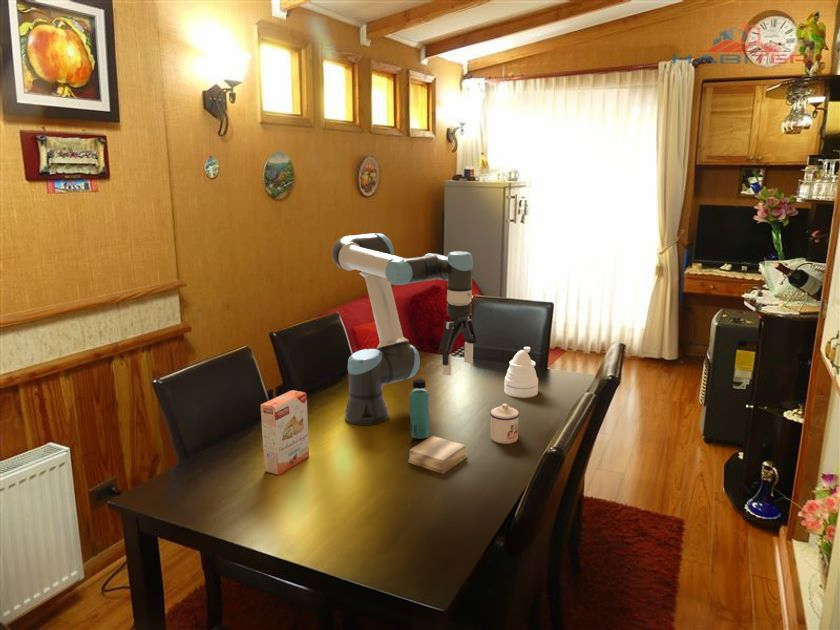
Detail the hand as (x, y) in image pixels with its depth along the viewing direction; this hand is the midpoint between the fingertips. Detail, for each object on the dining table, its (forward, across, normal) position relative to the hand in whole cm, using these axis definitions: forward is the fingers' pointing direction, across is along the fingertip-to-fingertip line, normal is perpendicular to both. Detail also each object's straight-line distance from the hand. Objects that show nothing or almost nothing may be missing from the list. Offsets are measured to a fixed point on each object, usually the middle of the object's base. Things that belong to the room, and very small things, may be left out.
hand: (457, 368), depth 196 cm
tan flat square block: (+23, -17, -4) cm, 29 cm away
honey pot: (+24, +49, 0) cm, 55 cm away
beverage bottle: (+24, -8, +9) cm, 27 cm away
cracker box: (+24, -43, +33) cm, 59 cm away
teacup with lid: (+23, +8, -14) cm, 28 cm away
